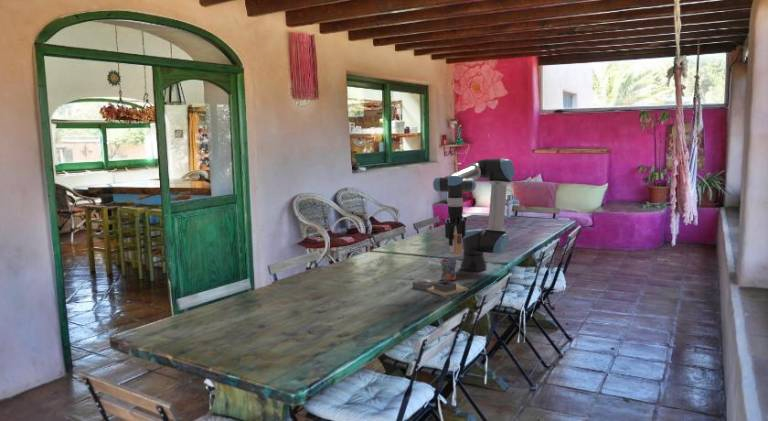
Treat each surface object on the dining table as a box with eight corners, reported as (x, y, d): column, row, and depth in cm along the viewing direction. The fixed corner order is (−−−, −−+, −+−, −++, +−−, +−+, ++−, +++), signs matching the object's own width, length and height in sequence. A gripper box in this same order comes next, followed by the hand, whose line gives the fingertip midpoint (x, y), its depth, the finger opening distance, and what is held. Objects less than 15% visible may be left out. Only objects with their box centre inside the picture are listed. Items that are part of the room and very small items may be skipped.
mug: (451, 282, 307) (451, 263, 305) (436, 280, 313) (436, 261, 311) (462, 277, 316) (462, 259, 315) (448, 275, 322) (448, 257, 320)
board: (447, 284, 304) (447, 276, 303) (467, 290, 291) (467, 282, 290) (423, 289, 295) (423, 281, 295) (443, 296, 282) (443, 287, 281)
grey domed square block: (425, 283, 307) (425, 276, 306) (439, 286, 300) (439, 279, 299) (412, 287, 300) (412, 280, 299) (426, 290, 293) (426, 283, 292)
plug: (455, 252, 296) (455, 233, 295) (462, 253, 292) (462, 234, 291) (449, 253, 294) (449, 233, 293) (456, 254, 290) (456, 235, 288)
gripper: (462, 204, 298) (462, 248, 301) (437, 206, 289) (438, 252, 291) (472, 205, 292) (472, 250, 295) (447, 207, 282) (447, 254, 285)
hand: (455, 251), depth 293 cm, fingers closed on plug, 4 cm apart
